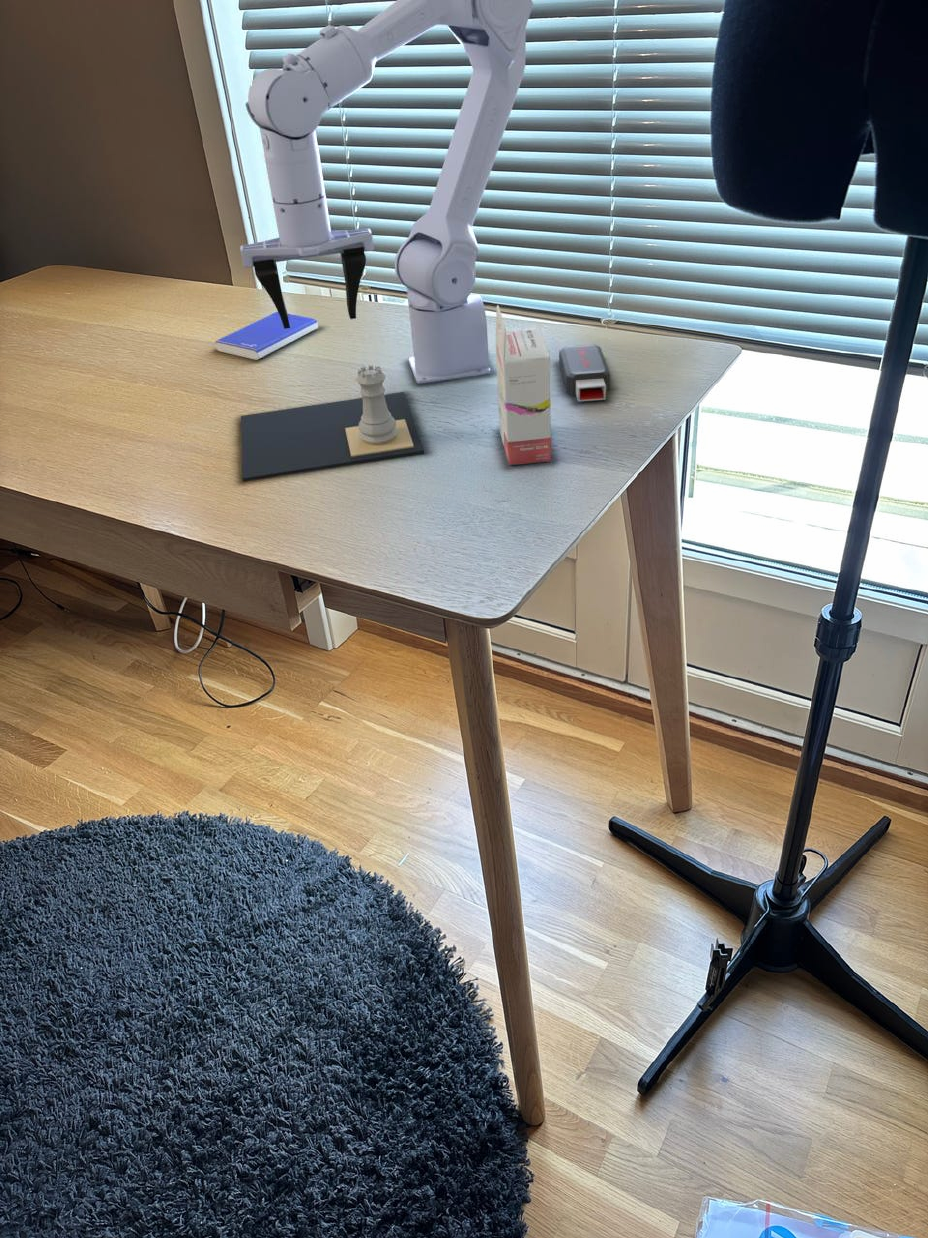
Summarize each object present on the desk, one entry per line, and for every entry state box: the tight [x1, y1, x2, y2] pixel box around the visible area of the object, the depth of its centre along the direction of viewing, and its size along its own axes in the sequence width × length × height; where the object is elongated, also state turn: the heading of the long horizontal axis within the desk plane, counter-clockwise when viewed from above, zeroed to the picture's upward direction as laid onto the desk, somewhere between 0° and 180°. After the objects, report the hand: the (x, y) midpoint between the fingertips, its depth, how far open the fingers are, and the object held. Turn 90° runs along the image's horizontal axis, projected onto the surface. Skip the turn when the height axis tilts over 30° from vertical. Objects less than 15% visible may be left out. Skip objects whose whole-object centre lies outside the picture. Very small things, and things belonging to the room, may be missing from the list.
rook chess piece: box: [355, 364, 398, 445], centre depth 106 cm, size 4×4×8 cm
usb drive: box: [558, 344, 611, 402], centre depth 117 cm, size 5×12×3 cm, turn 2°
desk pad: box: [240, 391, 425, 482], centre depth 111 cm, size 20×16×1 cm
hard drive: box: [214, 311, 319, 361], centre depth 136 cm, size 2×8×12 cm
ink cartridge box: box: [495, 304, 552, 466], centre depth 101 cm, size 9×5×15 cm, turn 5°
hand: (319, 320), depth 111 cm, fingers open, 7 cm apart
